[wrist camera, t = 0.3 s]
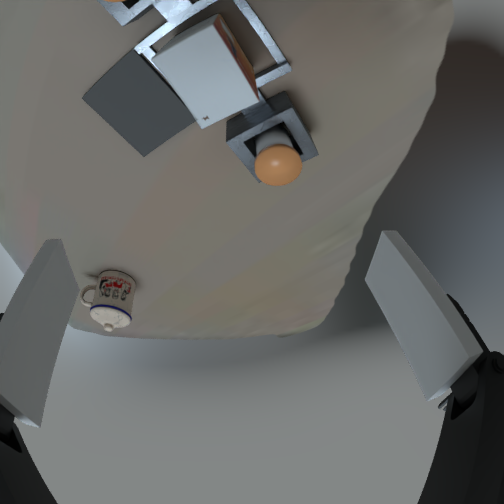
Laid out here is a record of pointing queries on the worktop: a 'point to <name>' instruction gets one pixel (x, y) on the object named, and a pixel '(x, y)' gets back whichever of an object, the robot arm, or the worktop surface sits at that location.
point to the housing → (265, 111)
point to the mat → (139, 104)
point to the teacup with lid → (111, 299)
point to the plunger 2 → (276, 157)
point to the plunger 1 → (114, 0)
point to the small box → (208, 71)
